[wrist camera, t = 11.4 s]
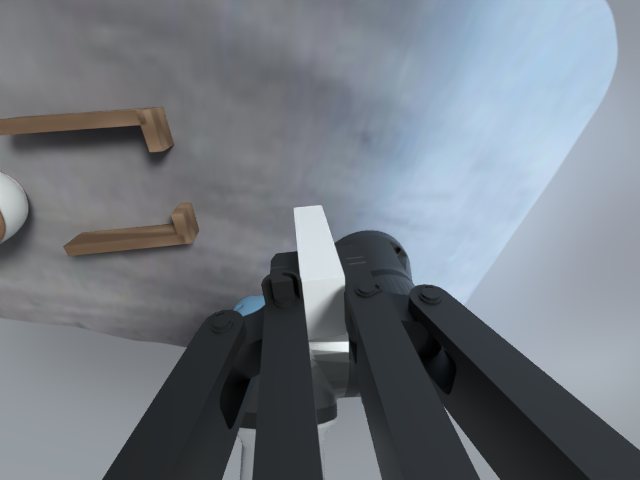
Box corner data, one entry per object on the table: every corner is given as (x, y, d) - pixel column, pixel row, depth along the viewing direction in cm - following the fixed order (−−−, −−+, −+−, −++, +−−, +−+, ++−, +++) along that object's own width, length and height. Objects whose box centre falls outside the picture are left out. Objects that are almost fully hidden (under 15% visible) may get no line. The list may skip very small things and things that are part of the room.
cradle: (199, 230, 43) (191, 243, 40) (86, 241, 42) (68, 256, 39) (162, 106, 35) (149, 109, 32) (21, 116, 34) (-9, 120, 30)
